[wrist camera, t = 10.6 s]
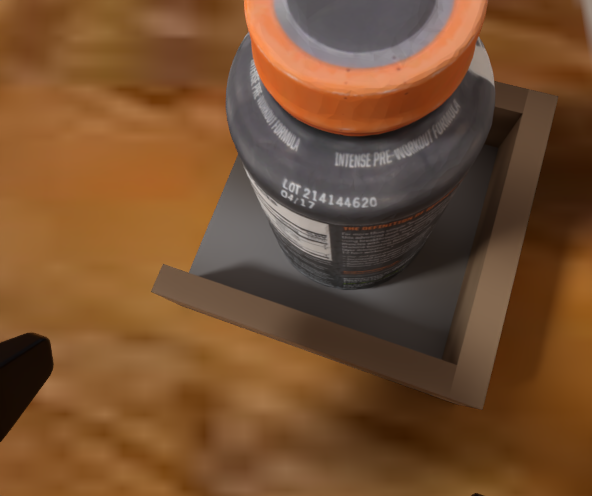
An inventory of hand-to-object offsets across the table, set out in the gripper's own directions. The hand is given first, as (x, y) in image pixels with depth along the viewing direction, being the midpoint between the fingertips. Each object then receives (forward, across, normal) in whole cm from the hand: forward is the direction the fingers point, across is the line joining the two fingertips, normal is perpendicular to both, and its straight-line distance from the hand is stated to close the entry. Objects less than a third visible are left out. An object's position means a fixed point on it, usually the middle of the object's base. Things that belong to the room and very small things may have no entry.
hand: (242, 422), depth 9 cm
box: (+11, 0, 0) cm, 11 cm away
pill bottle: (+11, 0, 0) cm, 11 cm away
